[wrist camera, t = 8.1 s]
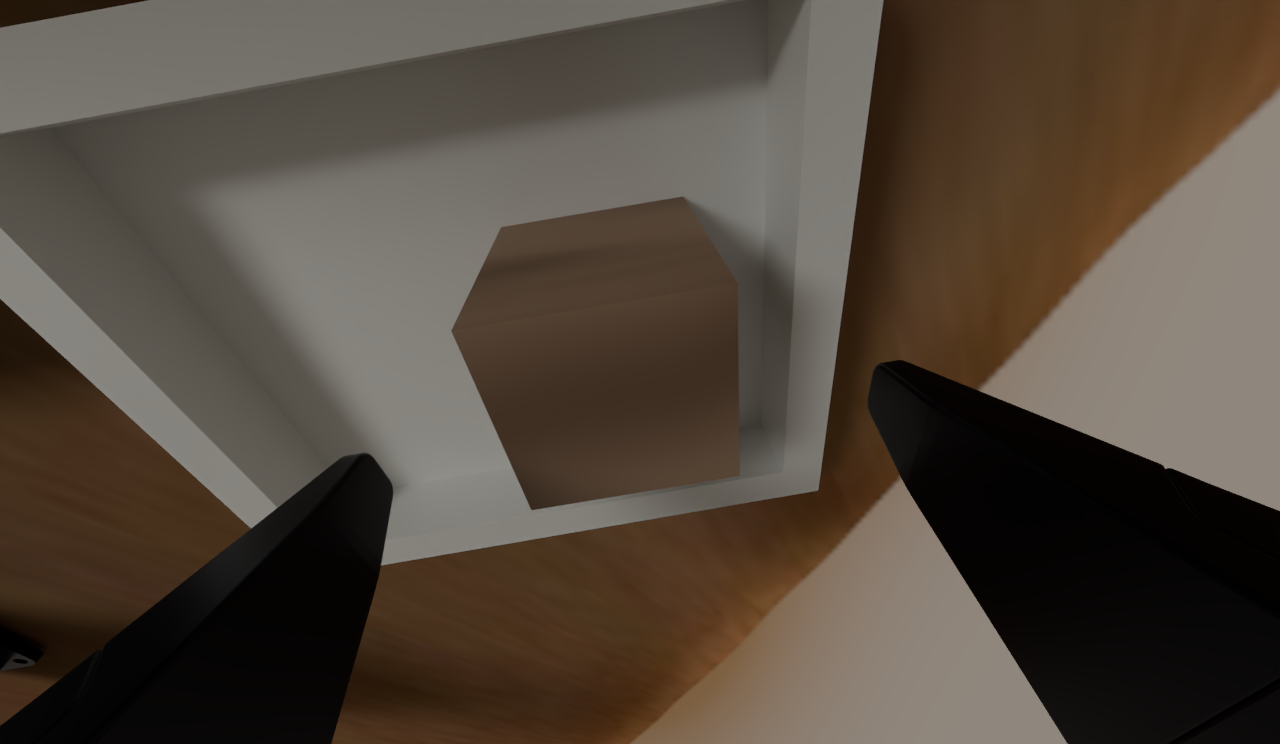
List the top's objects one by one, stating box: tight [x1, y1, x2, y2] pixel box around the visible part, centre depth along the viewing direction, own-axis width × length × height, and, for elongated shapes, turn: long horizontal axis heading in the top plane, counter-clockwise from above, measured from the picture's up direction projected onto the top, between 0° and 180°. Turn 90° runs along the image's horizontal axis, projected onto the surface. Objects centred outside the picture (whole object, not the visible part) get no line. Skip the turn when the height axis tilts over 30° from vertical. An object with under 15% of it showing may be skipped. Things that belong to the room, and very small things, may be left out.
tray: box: [0, 0, 883, 565], centre depth 12 cm, size 14×17×3 cm
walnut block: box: [451, 197, 740, 510], centre depth 10 cm, size 4×4×5 cm
